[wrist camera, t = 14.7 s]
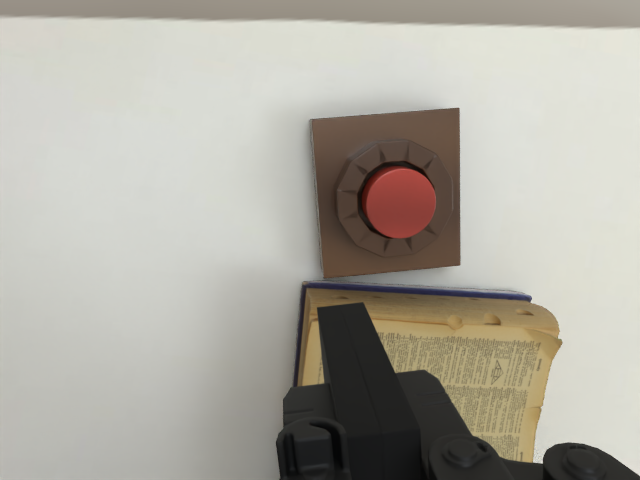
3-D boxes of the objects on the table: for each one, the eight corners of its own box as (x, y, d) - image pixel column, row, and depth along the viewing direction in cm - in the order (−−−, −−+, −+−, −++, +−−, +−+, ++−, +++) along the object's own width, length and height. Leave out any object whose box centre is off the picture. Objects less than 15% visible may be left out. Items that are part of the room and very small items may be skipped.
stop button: (359, 168, 29) (364, 171, 27) (426, 162, 29) (435, 165, 27) (363, 234, 30) (368, 241, 28) (428, 229, 30) (436, 235, 28)
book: (300, 276, 34) (304, 308, 28) (530, 291, 35) (578, 325, 29) (273, 571, 39) (272, 649, 34) (472, 573, 41) (503, 647, 35)
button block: (309, 119, 31) (313, 119, 27) (447, 108, 32) (470, 107, 28) (321, 268, 34) (326, 287, 30) (449, 256, 34) (470, 273, 30)
